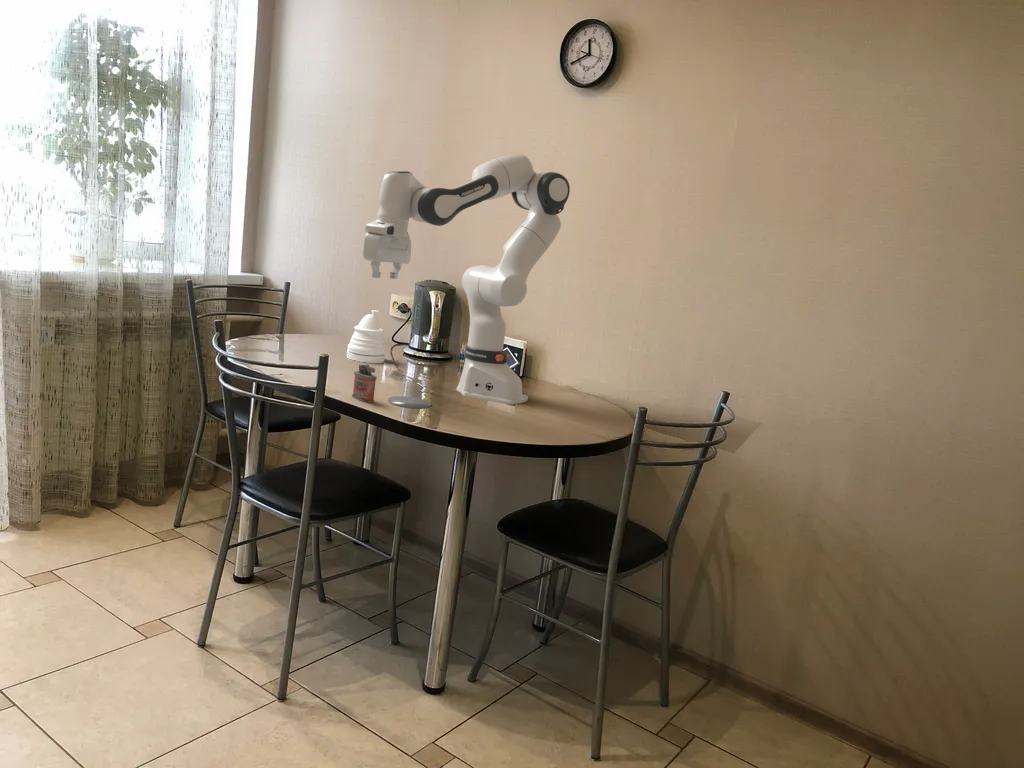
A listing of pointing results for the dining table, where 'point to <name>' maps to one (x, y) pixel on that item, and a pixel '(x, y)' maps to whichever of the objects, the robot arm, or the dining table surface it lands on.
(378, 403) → the dining table surface
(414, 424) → the dining table surface
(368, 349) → the honey pot
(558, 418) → the dining table surface
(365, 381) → the lighter
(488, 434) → the dining table surface
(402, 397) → the coaster
